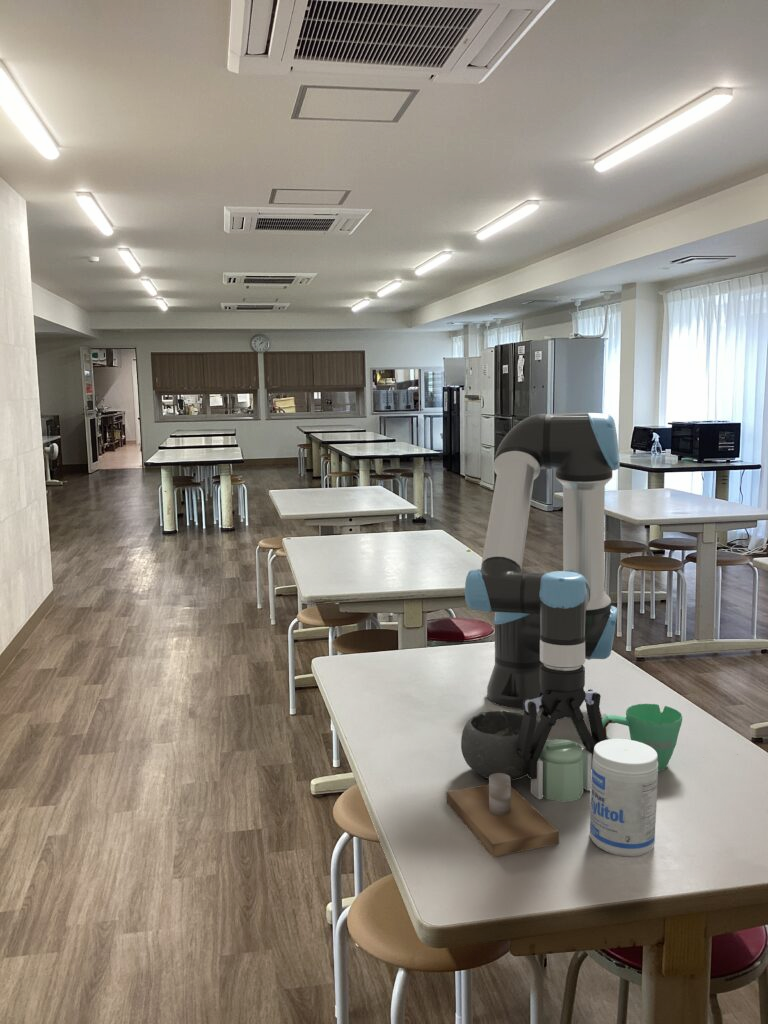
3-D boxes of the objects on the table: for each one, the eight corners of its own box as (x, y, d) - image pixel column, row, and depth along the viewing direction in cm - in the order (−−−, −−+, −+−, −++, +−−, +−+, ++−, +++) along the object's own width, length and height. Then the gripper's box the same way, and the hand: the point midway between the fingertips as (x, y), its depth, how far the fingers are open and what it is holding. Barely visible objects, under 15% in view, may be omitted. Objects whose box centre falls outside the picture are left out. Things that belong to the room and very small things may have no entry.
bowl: (446, 767, 154) (446, 715, 153) (515, 752, 160) (515, 702, 158) (487, 801, 140) (487, 744, 139) (560, 784, 146) (561, 729, 145)
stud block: (505, 792, 143) (505, 751, 142) (558, 843, 126) (559, 797, 125) (446, 802, 140) (446, 760, 139) (492, 856, 123) (492, 809, 122)
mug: (671, 753, 158) (672, 703, 156) (688, 776, 148) (690, 723, 147) (593, 754, 158) (594, 703, 157) (605, 777, 148) (606, 723, 147)
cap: (568, 780, 148) (568, 733, 146) (589, 797, 141) (590, 748, 140) (532, 786, 145) (533, 739, 144) (552, 804, 139) (553, 755, 138)
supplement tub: (578, 844, 126) (580, 752, 124) (606, 820, 133) (608, 732, 131) (640, 866, 120) (642, 769, 118) (665, 839, 127) (668, 748, 125)
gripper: (604, 651, 147) (603, 772, 150) (494, 664, 140) (495, 791, 143) (629, 663, 140) (627, 790, 143) (515, 677, 133) (514, 811, 136)
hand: (561, 790), depth 143 cm, fingers open, 9 cm apart
